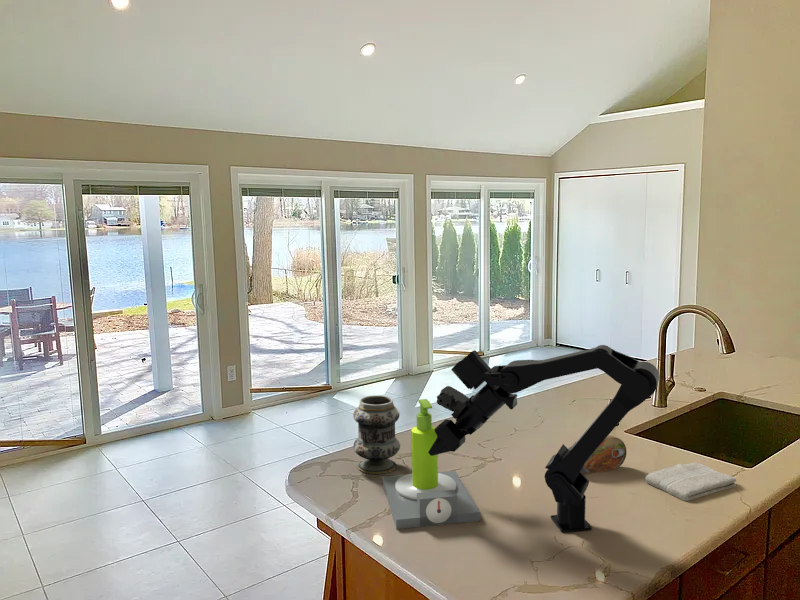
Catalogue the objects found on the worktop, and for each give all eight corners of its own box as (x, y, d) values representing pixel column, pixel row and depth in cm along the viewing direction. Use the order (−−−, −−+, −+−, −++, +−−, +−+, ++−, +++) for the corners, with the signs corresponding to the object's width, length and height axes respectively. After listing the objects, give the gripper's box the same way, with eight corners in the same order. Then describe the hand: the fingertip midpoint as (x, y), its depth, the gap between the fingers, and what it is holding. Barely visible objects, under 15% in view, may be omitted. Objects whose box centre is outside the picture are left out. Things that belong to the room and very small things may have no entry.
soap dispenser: (417, 492, 141) (415, 406, 138) (410, 480, 148) (408, 397, 145) (442, 489, 142) (441, 404, 140) (434, 477, 149) (432, 395, 146)
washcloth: (739, 487, 148) (739, 475, 147) (686, 505, 140) (686, 491, 139) (695, 470, 158) (695, 458, 158) (643, 485, 150) (644, 472, 150)
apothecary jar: (402, 475, 158) (400, 405, 155) (354, 477, 157) (351, 407, 154) (399, 456, 170) (397, 391, 167) (354, 458, 169) (352, 393, 166)
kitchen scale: (481, 521, 133) (480, 494, 132) (396, 529, 131) (396, 502, 130) (455, 478, 155) (455, 454, 154) (382, 484, 153) (382, 460, 152)
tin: (573, 476, 155) (574, 443, 154) (567, 471, 158) (567, 438, 157) (626, 468, 159) (627, 436, 158) (619, 463, 162) (620, 432, 161)
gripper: (473, 367, 147) (430, 408, 153) (442, 387, 130) (396, 432, 136) (506, 403, 144) (461, 443, 151) (479, 429, 128) (430, 473, 134)
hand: (438, 446), depth 143 cm, fingers open, 9 cm apart
